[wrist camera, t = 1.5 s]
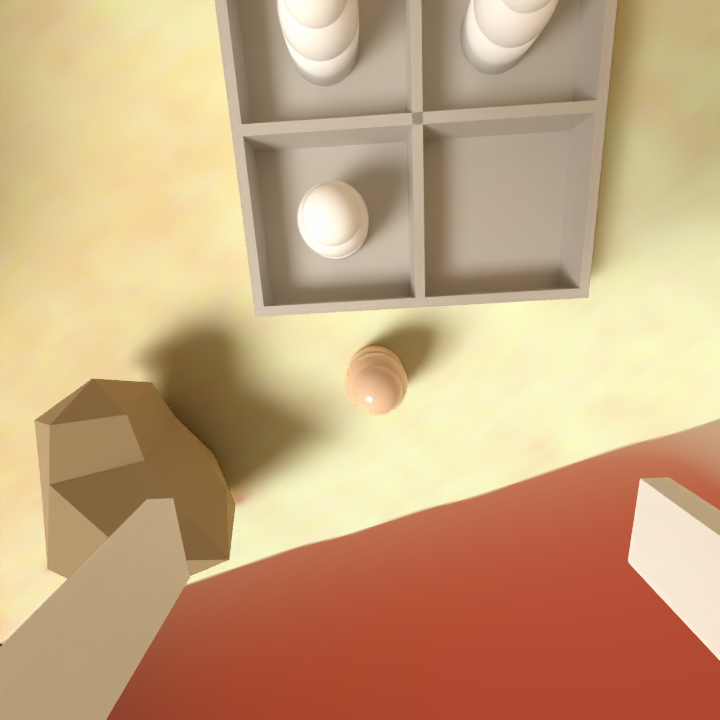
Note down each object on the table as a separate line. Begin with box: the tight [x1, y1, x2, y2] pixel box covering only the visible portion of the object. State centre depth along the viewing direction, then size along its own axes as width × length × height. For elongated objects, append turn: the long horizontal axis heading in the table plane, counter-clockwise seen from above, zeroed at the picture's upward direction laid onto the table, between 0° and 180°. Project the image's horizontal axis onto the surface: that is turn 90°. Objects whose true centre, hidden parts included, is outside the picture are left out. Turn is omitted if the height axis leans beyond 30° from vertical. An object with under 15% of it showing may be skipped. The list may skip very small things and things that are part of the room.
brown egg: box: [346, 346, 408, 415], centre depth 23 cm, size 4×4×6 cm
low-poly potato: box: [35, 379, 235, 578], centre depth 22 cm, size 15×11×12 cm
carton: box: [215, 0, 618, 317], centre depth 20 cm, size 21×21×3 cm
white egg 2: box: [297, 180, 369, 260], centre depth 20 cm, size 4×4×6 cm
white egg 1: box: [277, 0, 359, 86], centre depth 17 cm, size 4×4×6 cm
